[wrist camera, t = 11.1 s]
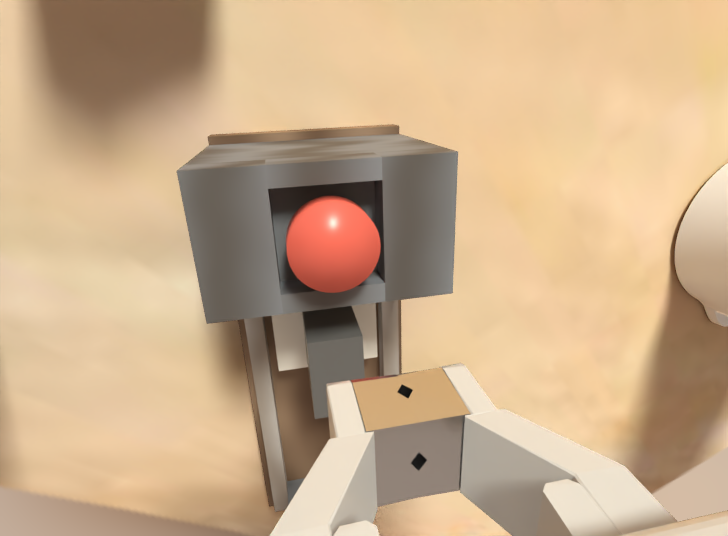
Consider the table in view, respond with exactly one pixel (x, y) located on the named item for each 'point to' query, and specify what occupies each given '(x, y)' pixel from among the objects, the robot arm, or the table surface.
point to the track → (274, 275)
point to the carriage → (326, 346)
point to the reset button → (332, 244)
